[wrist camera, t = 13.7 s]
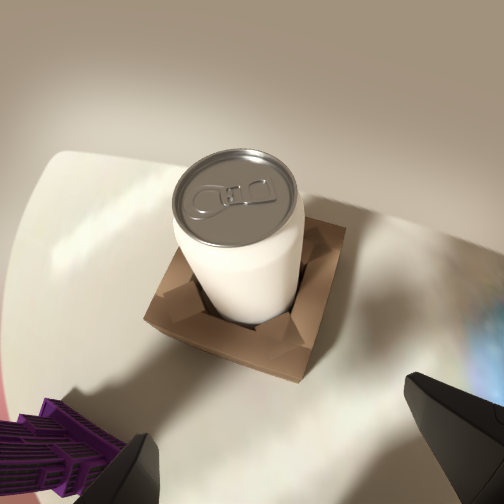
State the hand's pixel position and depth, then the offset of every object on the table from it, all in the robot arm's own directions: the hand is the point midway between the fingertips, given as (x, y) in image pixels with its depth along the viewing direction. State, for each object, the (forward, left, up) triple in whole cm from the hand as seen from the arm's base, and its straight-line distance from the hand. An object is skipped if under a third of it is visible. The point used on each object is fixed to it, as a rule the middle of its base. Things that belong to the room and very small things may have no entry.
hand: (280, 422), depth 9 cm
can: (+5, +8, -12) cm, 15 cm away
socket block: (+5, +8, -13) cm, 16 cm away
